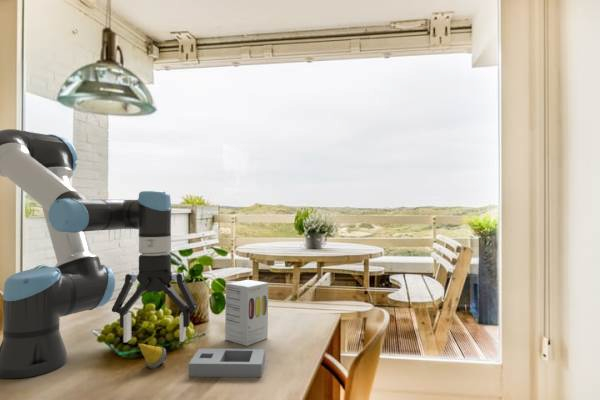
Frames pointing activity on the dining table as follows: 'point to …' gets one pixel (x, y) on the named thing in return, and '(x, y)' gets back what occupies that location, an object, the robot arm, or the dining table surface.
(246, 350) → the bit holder block
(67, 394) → the dining table surface
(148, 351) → the yellow grooved cone
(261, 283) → the supplement box
